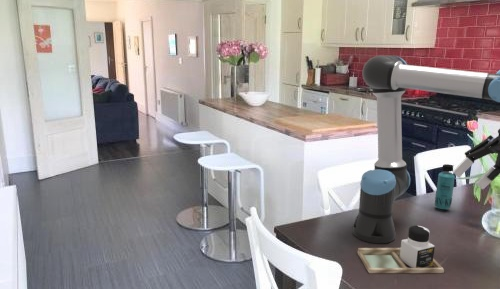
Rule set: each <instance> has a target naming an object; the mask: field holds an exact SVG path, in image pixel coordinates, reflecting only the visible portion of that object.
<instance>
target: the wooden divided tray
mask: <svg viewBox="0 0 500 289" xmlns="http://www.w3.org/2000/svg"><path fill="white" fill-rule="evenodd" d="M400 249H401V247H358V248H357V255H358V257H359V258H360V260H361V263H362V264H363V265H364V267H365V269H366V270H367V272H368V274H444V272H445V269H444V267H443V266H441V264H440V263H439V262H438V261H437V260H436V259H435V258H434V257H433V265H432V266H434V267H426V268H412V267H407V266H406V264H405V263H404V262H402V261H401V259H400Z"/></svg>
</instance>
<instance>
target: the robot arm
mask: <svg viewBox="0 0 500 289" xmlns="http://www.w3.org/2000/svg"><path fill="white" fill-rule="evenodd" d="M362 78H363V81H364V83H365V84H366V85H367V86H368V87H370V88H371V93H372V95H373V96H375V97H376V116H377V117H376V118H377V121H376V123H377V154H378V156H377V158H378V159H377V160H376V162H374V165H373V166H374V169H372V170H371V169H370V170H367V171H365V172H364V173H363V174H362V175H361V180H360V184H359V185H360V190H359V203H358V204H359V205H358V214H357V216H356V218H355V220H354V222H353V224H352V234H353V236H355V237H356V238H357V239H358V240H361V241H364V242H367V243H371V244H387V243H391V242H393V241H394V240H396V239H395V238H396V234H397V232H396V229H395V223H394V219H393V211H394V210H393V209H394V201H396V199H398V198H399V197H401V196H402V195H404V194H405V193H406V192H407V190H408V189H409V187H410V185H411V176H410V173H409V171H408V169H407V163H406V161H405V160H404V159H403V143H402V142H403V137H402V136H403V135H402V134H403V133H402V132H403V131H402V96H403V94H405V93H406V89H409V90H418V91H425V92H431V93H439V94H446V95H453V96H461V97H469V98H477V99H484V100H489V101H490V100H491V101H494V102H497V103H500V69H499V70H498V71H497V72H496V73H491V72H490V73H489V72H480V71H472V70H470V71H469V70H462V69H451V68H442V67H441V68H440V67H431V66H424V65H423V66H420V65H412V64H408V63H407V62H406V60H404V59H403V57H400V56H397V55H391V54H390V55H389V54H388V55H376V56H373V57H371V58H369V59H368V60H367V61H366V62H365V64H364V65H363V67H362ZM497 133H498V136H496V137H493V135H488V137H486V138H485V139H484V140H483V141H480V142H479V143H478V144H476V145H475V146H473V147H472V148H470V149H469V150H467V151H465V152H464V155H465V158H464V159H463V160H462V162H461V163H460V164H459V165H457V166H456V167H455V168H454V169H453V171H452V174H453V175H454V176H455V177H457V178H461V176H463V174H465V172H466V171H467V170H469V168H470V167H471V166H472V165H474V163H475V162H476V160H479V159H481V158H483V157H485V156H488V155H489V154H491V155H493V154H496V159H495V163H494V165H492V166H491V167H489V169H487V171H486V172H485V173H484V174H483V175H482V176H480V178H479V179H478V180H477V181H476V182H475V184H476V185H477V187H479V189H481V190H484V189H485V188H487V186H489V184H491V182H492V181H494V180H495V179H496V178H497V177H498V176H499V175H500V128H499V129H498V130H497Z"/></svg>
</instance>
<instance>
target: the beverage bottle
mask: <svg viewBox="0 0 500 289" xmlns="http://www.w3.org/2000/svg"><path fill="white" fill-rule="evenodd" d="M441 169H442V171H441V172H439V173H438V177H437V183H436V184H437V185H436V189H435V191H436V193H435V196H434V207H435V208H437V209H441V210H450V209H451V208H452V201H453V195H454V194H453V193H454V184H455V178H456V175H455V174H454V173H453V171H454V166H453V165H452V164H448V163H446V164H443V165H442V167H441Z"/></svg>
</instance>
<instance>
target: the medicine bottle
mask: <svg viewBox="0 0 500 289" xmlns="http://www.w3.org/2000/svg"><path fill="white" fill-rule="evenodd" d="M430 232H431V231H430V230H429V228H427V227H424V226H421V225H411V226H410V227H409V228H408V234H407V238H405V239H401V241H400V242H401V243H400V248H401V249H400V255H399V258H400V259H401V261H402V262H403V263H404V264H405V265H407V266H409V268H430V267H432V266H434V265H433V258H434V254H435V249H436V248H435V244H433V243H431V242H430V235H431V233H430Z"/></svg>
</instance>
